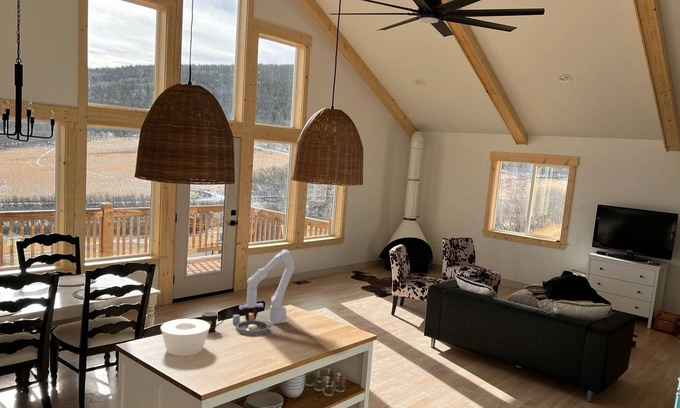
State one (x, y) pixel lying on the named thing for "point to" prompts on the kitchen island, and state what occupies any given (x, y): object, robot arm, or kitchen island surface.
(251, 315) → the terracotta bead
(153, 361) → the kitchen island surface
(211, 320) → the coffee mug
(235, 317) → the slate bead
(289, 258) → the robot arm
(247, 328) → the groove tray
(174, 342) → the bowl
